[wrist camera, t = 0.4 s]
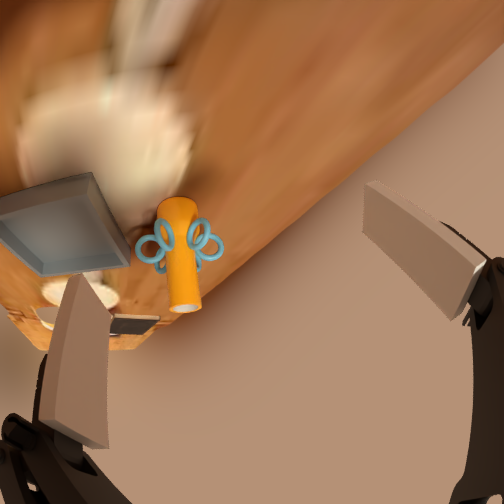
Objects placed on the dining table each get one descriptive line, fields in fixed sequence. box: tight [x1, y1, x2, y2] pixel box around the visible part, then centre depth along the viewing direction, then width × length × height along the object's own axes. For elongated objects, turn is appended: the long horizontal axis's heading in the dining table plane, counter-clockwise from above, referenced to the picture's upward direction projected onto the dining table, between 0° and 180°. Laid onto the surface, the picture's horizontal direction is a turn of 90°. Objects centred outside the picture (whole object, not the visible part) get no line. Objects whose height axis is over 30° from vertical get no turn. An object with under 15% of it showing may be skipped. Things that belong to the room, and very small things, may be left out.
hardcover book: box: [110, 314, 160, 335], centre depth 89 cm, size 16×23×2 cm
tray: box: [0, 172, 131, 277], centre depth 35 cm, size 20×20×4 cm
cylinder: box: [135, 197, 224, 313], centre depth 36 cm, size 12×10×15 cm
